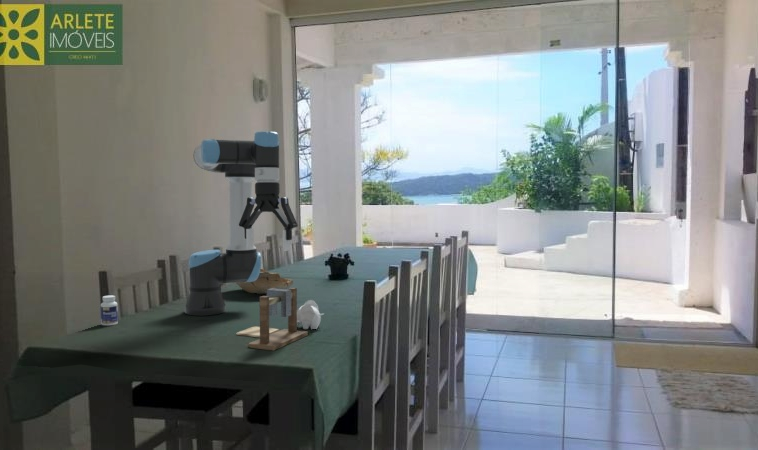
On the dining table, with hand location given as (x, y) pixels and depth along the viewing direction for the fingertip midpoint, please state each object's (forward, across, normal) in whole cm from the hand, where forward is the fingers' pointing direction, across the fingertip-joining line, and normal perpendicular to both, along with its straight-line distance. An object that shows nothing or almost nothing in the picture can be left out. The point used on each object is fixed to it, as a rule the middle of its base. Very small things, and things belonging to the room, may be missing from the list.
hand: (268, 250), depth 189 cm
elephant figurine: (+28, +2, +20) cm, 35 cm away
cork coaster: (+28, -9, +6) cm, 30 cm away
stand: (+28, +3, +1) cm, 29 cm away
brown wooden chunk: (+27, -52, +68) cm, 90 cm away
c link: (+20, +3, +1) cm, 20 cm away
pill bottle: (+28, -63, -6) cm, 69 cm away
